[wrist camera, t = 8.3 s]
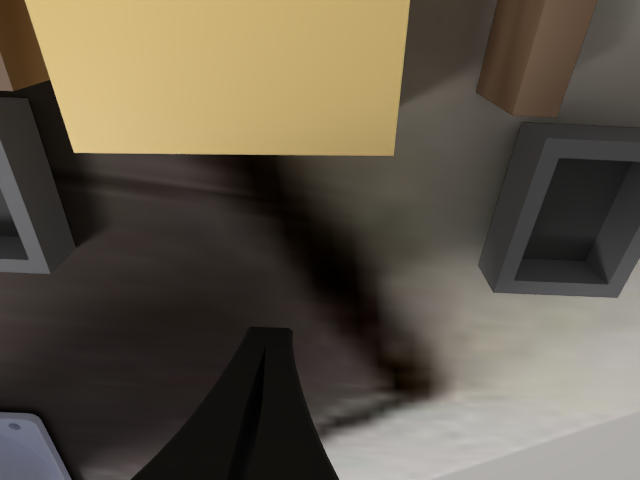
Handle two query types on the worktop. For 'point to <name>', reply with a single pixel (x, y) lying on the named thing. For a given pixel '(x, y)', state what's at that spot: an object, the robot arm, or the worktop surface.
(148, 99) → the block
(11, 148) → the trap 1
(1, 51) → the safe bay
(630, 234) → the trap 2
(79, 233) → the worktop surface
